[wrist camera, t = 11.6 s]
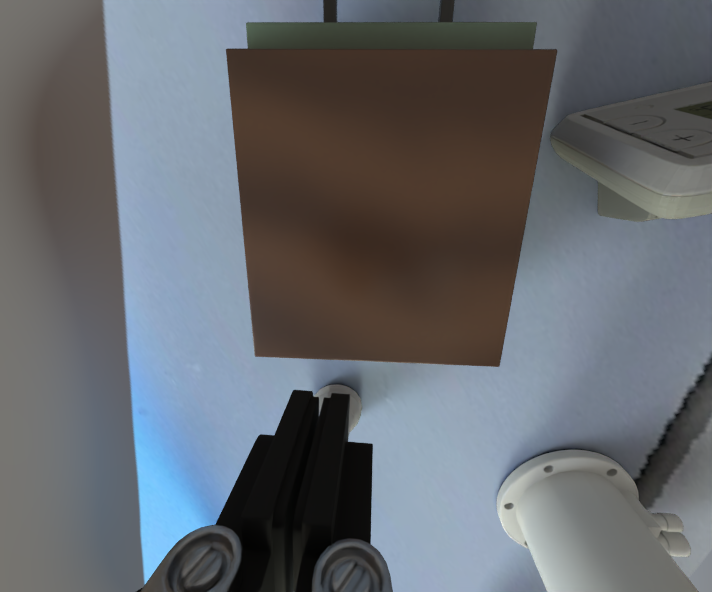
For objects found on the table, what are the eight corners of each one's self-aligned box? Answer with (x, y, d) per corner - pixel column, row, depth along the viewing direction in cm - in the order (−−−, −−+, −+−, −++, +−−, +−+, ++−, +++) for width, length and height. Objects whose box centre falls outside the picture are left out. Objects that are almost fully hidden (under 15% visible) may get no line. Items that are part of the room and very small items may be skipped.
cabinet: (285, 100, 22) (225, 48, 13) (482, 102, 22) (558, 49, 13) (294, 297, 27) (254, 356, 18) (457, 303, 27) (499, 367, 18)
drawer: (286, -8, 20) (234, -119, 12) (490, -9, 19) (561, -125, 12) (298, 273, 26) (267, 311, 18) (455, 278, 25) (489, 319, 18)
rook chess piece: (306, 387, 30) (283, 458, 22) (353, 375, 29) (346, 444, 22) (323, 426, 31) (307, 505, 24) (368, 416, 31) (366, 493, 23)
